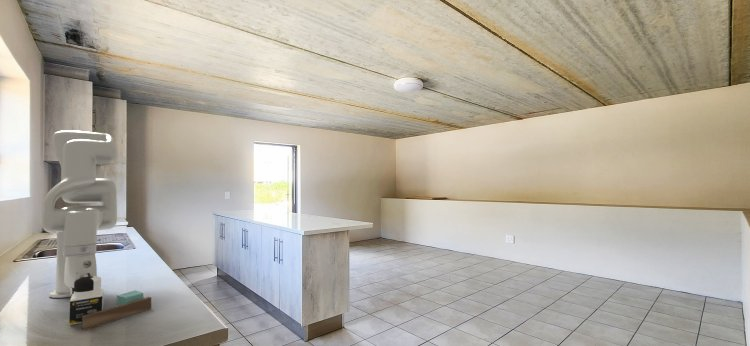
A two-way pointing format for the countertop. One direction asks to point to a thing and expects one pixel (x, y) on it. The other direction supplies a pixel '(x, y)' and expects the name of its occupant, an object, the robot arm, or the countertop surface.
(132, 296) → the teal block
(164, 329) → the countertop surface
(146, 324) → the countertop surface
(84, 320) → the walnut fence
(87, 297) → the medicine bottle
